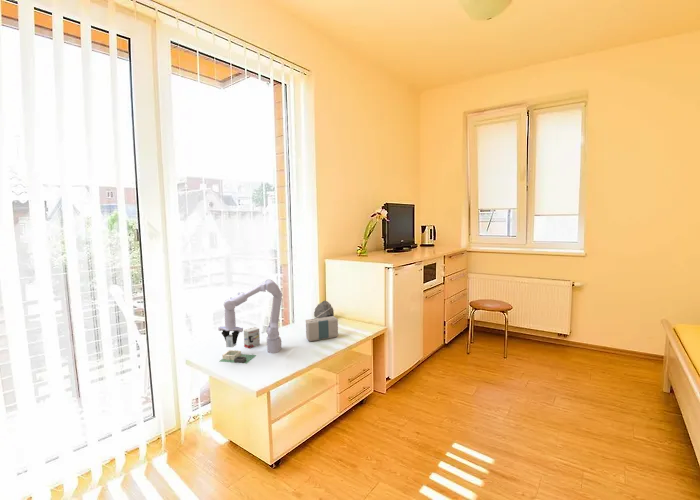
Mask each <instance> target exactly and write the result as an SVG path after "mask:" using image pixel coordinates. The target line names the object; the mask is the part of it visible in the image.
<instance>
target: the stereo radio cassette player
mask: <svg viewBox="0 0 700 500" xmlns="http://www.w3.org/2000/svg"><path fill="white" fill-rule="evenodd" d="M331 308H333V306H332V307H331ZM329 309H330V308H329ZM329 309H328V310H329ZM326 311H327V310H326ZM326 311H325V312H326ZM323 313H324V312H323ZM323 313H322V314H323ZM320 315H321V314H320ZM320 315H319V316H320ZM317 317H318V316H317ZM317 317H314V318H310V319H305V337H306V339H307V341H308V342H313V341H320V340H326V339H332V338H337V337H338V336H339V319H338V318H337V317H335V316H330V317H323V318H317Z"/></svg>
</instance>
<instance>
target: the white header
mask: <svg viewBox="0 0 700 500" xmlns="http://www.w3.org/2000/svg"><path fill="white" fill-rule="evenodd" d="M241 354H242V350H233V349H229V350H227V351H226V352H224V353H223V354H222V357H221V358H222V359H226V360H234V359H235V358H236V357H237V356H238V357H239V356H241Z"/></svg>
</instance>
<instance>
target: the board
mask: <svg viewBox="0 0 700 500" xmlns="http://www.w3.org/2000/svg"><path fill="white" fill-rule="evenodd" d="M239 357H246V361H245V362H244V363H243V364H248V363H250V362H251V361H252V360H253V359H254V358H255V357H257V355H256V354H245V353H244V354H243V353H241V356H239ZM219 362H220V363H221V362H223V363H231V364H232V363H233V364H235V363H234V360H226V359H223V358H222V359H219V361H218V363H219Z"/></svg>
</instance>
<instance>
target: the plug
mask: <svg viewBox="0 0 700 500" xmlns="http://www.w3.org/2000/svg"><path fill="white" fill-rule="evenodd" d="M225 345H226V348H234V347H236V346H237V343H236V344H234V343H233V336H232V334H229V335H228V336H226V341H225Z"/></svg>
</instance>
